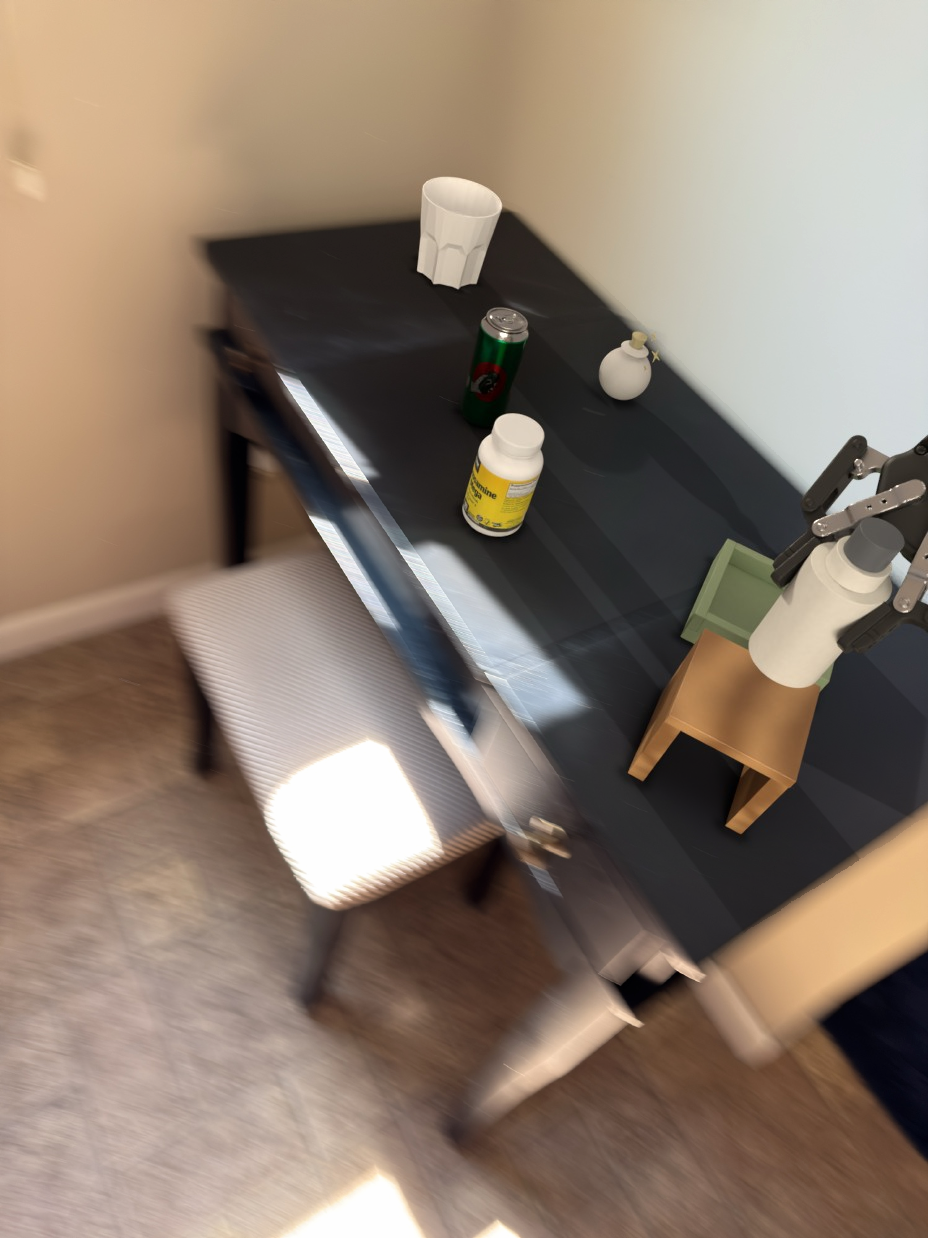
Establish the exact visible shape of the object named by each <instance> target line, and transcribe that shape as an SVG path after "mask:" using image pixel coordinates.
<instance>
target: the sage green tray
mask: <svg viewBox="0 0 928 1238" xmlns="http://www.w3.org/2000/svg"><path fill="white" fill-rule="evenodd" d="M774 561H775V559H774V560H773V559H772V558H770V557H767V556H765V555H763V554H761V553H759V552H757V551H755V550H753V549H751V548H748V547H747V546H745V545H743V544H741V543H738V542H736V541H735V540H733V539H730V538H727V539H726V540H725V542H724V543H723V545H722V547H721V549H719V551H718V553H717V555H716V556H715V558H714V560H713V561H712V563H711V565H710V568H709V570H708V573H707V575H706V577H705V580H704V581H703V584H702V586H701V589H700V590H699V593H698V595H697V597H696V600H695V602H694V604H693V607H692V608H691V611H690V613H689V616H688V618H687V620H686V622H685V625H684V627H683V629H682V632H681V634H680V638H682V639H684V640H685V641H687V642H689V643H691V644H693V645H694V644H695V643H696V641H697V640H698V638H699V637H700V635H701V633H702V632H703V630H704V629H705V628H706V629H708V630H710V631H712V632H714V633H716V634H718V635H720V636H722V637H724V638H725V639H727V640H729V641H731V642H733V643H735V644H737V645H739V646H741V647H743V648H745V649H747V650H749V639H750V637H751V635H752V634H753V633H754V631H755V630H756V628H757V627H758V626H759V624H760V623H761V622H762V620H763V619H764V617H765V616H766V615H767V613H768V612H769V611H770V609H771V608H772V606H773V605H774V604H775V602H776V601H777V599H778V598H779V597H780V595H781V594H782V593H783V591H784V590H785V588H786V587H787V586H788V585H786V586H785V587H784V588H782V589H780V588H779V587H778V586H777V585H776V584H775V583H774V582H773V581H772V579H771V577H770V576H771V574H772V573H773V571H774V568H773V566H772V564H773V563H774ZM834 665H835V661H834V662H833V663H832V664H831V665H830V667H829V668H828V669H827V670H826V671H825V672H824V673H823V675H822V676H821V677H820V678H819V679H818V680H817V681H816V682H815V683H814V684H816V685H818V686H820V687H821V688H820V692H821V691H823V690H824V688H825V687H826V686H827V685H828V684H829V683H830V680H831V676H832V673H833V669H834Z"/></svg>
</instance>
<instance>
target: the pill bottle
mask: <svg viewBox="0 0 928 1238" xmlns="http://www.w3.org/2000/svg"><path fill="white" fill-rule="evenodd" d="M544 440H545V431H544V429H543V427H542V426H541V425H540V424H539V422H537V421H536V420H534V419H533V418H531V417H530V416H527V415H524V414H522V413H521V414H520V413H514V412H513V413H505V415H502V416H500V417H499V418H498V419H497V420H496V421H495V424H494V426H492V430H491V433H490V434H489V435H487V436H486V437H485V438H484V439H483V440H482V441H481V443H480V445H479V447H478V450H477V453H476V457H475V460H474V464H473V467H472V471H471V475H470V478H469V482H468V484H467V487H466V492H465V494H464V495H465V496H464V499H463V503H462V514H463V517H464V519H465V521H466V522H467V523H468V524H469V526H470V527H471V528H472V529H474V530H475V531H476V532H478V533H481V534H483V535H486V536H489V537H506V536H509V535H512V534H514V533H516V532H517V531H518V530H520V528H521V526H522V525H523V522H524V519H525V516H526V513H527V511H528V509H529V507H530V503H531V500H532V498H533V495H534V492H535V490H536V486H537V484H538V481H539V478H540V475H541V474H542V470H543V468H544V467H543V466H544V455H543V452H542V450H541V449H542V446H543V443H544Z"/></svg>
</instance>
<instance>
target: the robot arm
mask: <svg viewBox="0 0 928 1238" xmlns="http://www.w3.org/2000/svg"><path fill="white" fill-rule="evenodd" d="M875 473H876V474H879V477H878V481H877V486H876V490H875V494H874V495H872V496H869V497H867V498H864V499H861V500H859V501H856V502H853V503H851V504H849V505H847V506H846V507H845V508H844V509H842V510H840V511H837V512H834V513H831V514H829V515H828V514H827V512H828V511H829V510H830V509H831V507H832V506H833V504H835V503H836V501H837V500H838V498H840V496H841V495H842V494H843V492H844V491H845V490H846V488H847V487H848V486H849V485H850V483H851V482H852V481H853V480H855V481H861V480H864V479H865V478H867V477H868V476H869V475H871V474H875ZM799 504H800V505H799V506H800V508H801V512H802V514H803V518H804V520H805V521H806V523H807V529H806V531H805V532H804V533H803V534H802V535H800V536H799V537H798V538H797V539H796V540H795V541H794V542H792V543H791V545H789V546H788V547H787V548H786V549H785V550H783V551H782V552H781V553H780V554H778V556H776V557H775V558H774V563H773V564H772V566H773V568H774V571H773V573H772V574H771V576H770V577H771V579H772V581H773V582H774V583H775V584H776V585H777V586H778V587H779V588H780V589H782V588H784V587H785V586H786V585H788V584H789V583H790V582H791V580H792V579H793V577H794V576H795V575H796V573H797V572H798V571H799V569H800V568H801V566H802V565H803V564H804V562H805V561H806V560H807V558H808V557H809V555H810V554H811V553H812V551H813V550H814V549H815V548H816V547H817V546H818V545H820V544H823V543H827V542H838V541H839V540H840V539H841V538H843V537H845V536H851V535H852V533H853V532H854V531H855V529H856V528H857V527H858V525H859V524H860V523H861V521H862V520H864V519H866V518H879V519H882V520H884V521H887V522H889V523H890V524H892V525H893V526H894V527H896V528H897V529H898V530H899V531H900V532H901V534H902V535H903V538H904V541H905V543H904V547H903V548H902V549H901V550H900V552H899V554H900V555H901V556H902V557H903V558H904V559H905V560H906V561H907V562H908V563H909V564H910V565H909V567H908V570H907V572H906V574H905V576H904V579H903V581H902V583H901V585H900V586H899V589H898V591H897V592H896V595H895V596H894V598H893V599H892V600H890V602H888V603H887V602H883V603H882V604H881V605H880V606H878V607H877V608H876V609H874V610H873V611H872V612H871V613H870V614H868V615H867V616H866V617H865V618H864V619H862V620H861V621H860V622H859V623H858V624H856V625H855V626H854V627H853V628H851V629H850V630H849V631H848V632H847V633H845V634H844V635H843V636H842V637H841V638H840V639H839V640H838V641H837V645H838V647H839V648H840V649H841V650H842V651H843V652H842V653H844V654H845V655H848V654H850V653H851V652H852V651H855V652H856V653H858V654H859V655H860V654H863V653H866V652H869V651H870V650H871V649H872V648H874V647H875V646H876V645H877V644H879V643H880V642H881V641H882V640H883V639H885V638H886V637H887V636H888V635H889V634H891V633H892V632H893V631H895V630H896V629H897V628H898V627H900V626H902V625H904V624H909V625H914V626H916V627H918V628H920V629H922V630H924V631H925V632H926V633H927V634H928V603H926V602H924V601H923V599H924V596H925V595H926V593H927V592H928V434H927V435H925V437H923V438H922V439H921V440H920V441H919V442H918V443H917V444H915V445H914V446H913V447H911V449H909V450H906V451H903V452H901V453H897V454H895V455H891V456H888V455H887V454H884V453H882V452H880V451H878V450H877V449H875V448H873V447H871V446H870V445H868V440H867V438H866V437H865V436H863V435H862V434H861V435H860V434H855V435H853V436H851V437H850V438H849V439H848V440H847V441H846V442H845V444H844V445H843V446H842V447H841V449H840V450H839V451H838V452H837V454H835V456H834V457H833V458H832V460H831V461H830V462H829V463H828V464H827V466H826V468H824V470H823V471H822V472H821V474H820V475H819V476H818V477H817V479H816V480H815V481H814V482H813V484H811V486H810V487H809V488H808V490H807V491H806V492H805V493H804V495H803V496H802V497H801V499H800V501H799Z"/></svg>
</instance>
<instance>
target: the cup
mask: <svg viewBox="0 0 928 1238" xmlns="http://www.w3.org/2000/svg"><path fill="white" fill-rule="evenodd" d="M420 207H421V208H420V238H419V249H418V257H417V258H418V259H417V268H416V271H417V272H418V273H420V274H423V275H424V276H426V277H427V279H429V280H431V282H432V284H433V285H442V286H443V285H444V286H447V287H452V288H454V289H457V290H459V289H460V288H461V287H465V286H467V285H477V283H478V280H479V278H480V273H481V270H482V267H483V263H484V261H485V257H486V254H487V251H488V248H489V245H490V242H491V240H492V237H493V235H494V232H495V229H496V226H497V224H498V221H499V218H500V216H501V212H502V209H503V203H502V200H501V198H500V197H499V196H498V195H497V194H496V193H495V192H494V191H492V189H490V188H489V187H487V186H485V185H483V184H480V183H478V182H476V181H473V180H470V179H465V178H461V177H456V176H437V177H433V178H430V179H428V180H427V181H425V182H424V184H423V185H422V189H421V206H420Z"/></svg>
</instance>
